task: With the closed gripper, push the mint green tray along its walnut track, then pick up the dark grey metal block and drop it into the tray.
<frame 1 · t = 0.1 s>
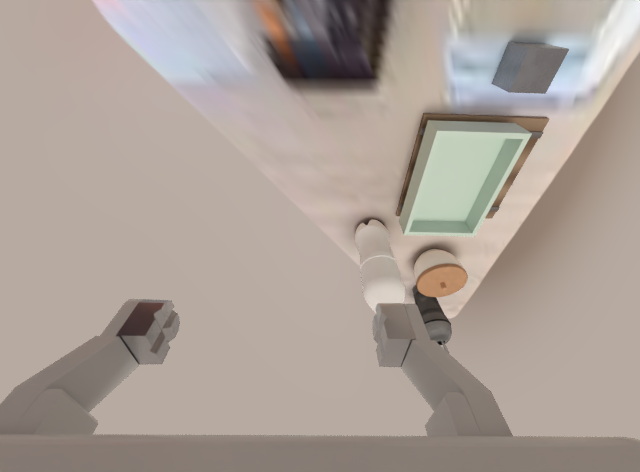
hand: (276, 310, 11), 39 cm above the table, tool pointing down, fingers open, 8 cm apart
mint green tray: (452, 183, 46), point 4 cm above the table, slide at 0.0 cm
lidded jar: (430, 257, 65), on the table
water bottle: (370, 228, 59), on the table
track: (461, 171, 50), on the table
beverage cup: (421, 287, 73), on the table
metal block: (516, 64, 38), on the table
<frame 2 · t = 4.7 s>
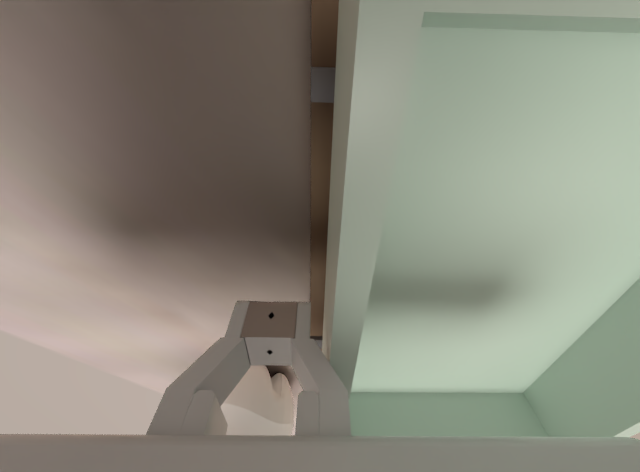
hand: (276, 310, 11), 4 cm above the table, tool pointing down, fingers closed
mint green tray: (492, 309, 11), point 4 cm above the table, slide at 0.7 cm, touching gripper
water bottle: (254, 375, 23), on the table
track: (497, 247, 14), on the table
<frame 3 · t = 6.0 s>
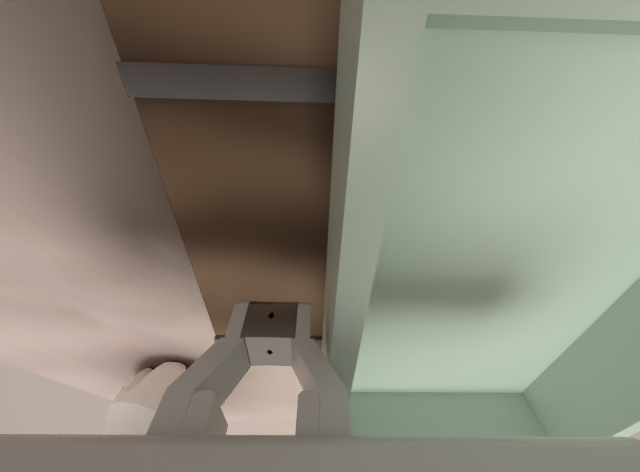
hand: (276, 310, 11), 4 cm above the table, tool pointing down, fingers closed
mint green tray: (492, 310, 11), point 4 cm above the table, slide at 6.9 cm, touching gripper
water bottle: (180, 374, 22), on the table
track: (383, 245, 14), on the table
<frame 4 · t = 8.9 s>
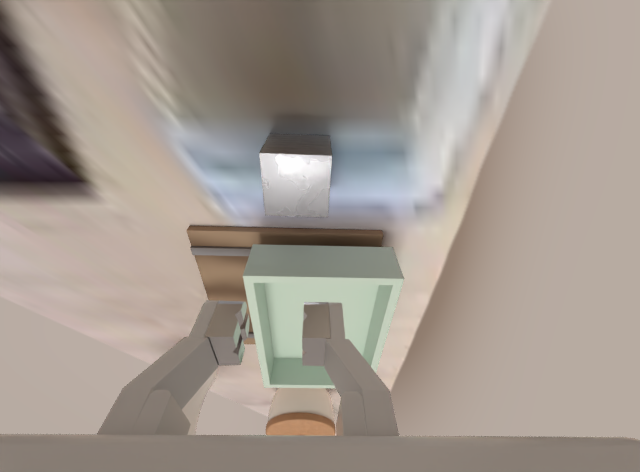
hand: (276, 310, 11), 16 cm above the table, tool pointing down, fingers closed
mint green tray: (320, 321, 30), point 4 cm above the table, slide at 7.0 cm
lidded jar: (303, 381, 47), on the table
water bottle: (199, 353, 42), on the table
track: (289, 293, 34), on the table
metal block: (300, 163, 24), on the table
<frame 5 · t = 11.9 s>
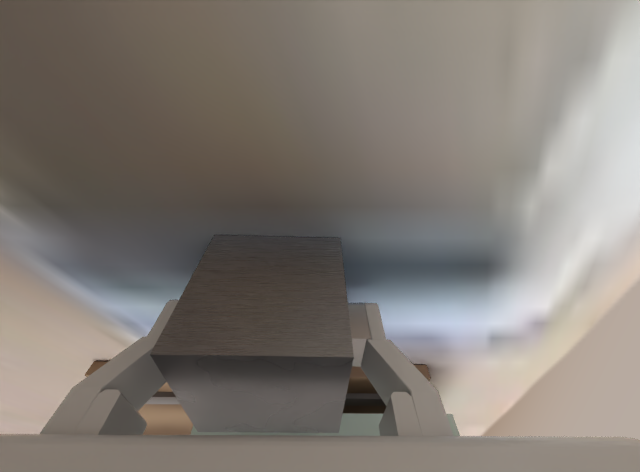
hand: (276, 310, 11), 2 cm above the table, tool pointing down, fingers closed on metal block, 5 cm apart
track: (274, 427, 22), on the table
metal block: (280, 281, 12), on the table, touching gripper
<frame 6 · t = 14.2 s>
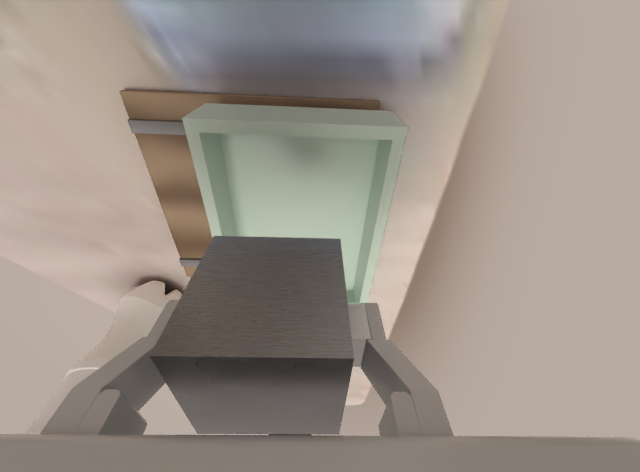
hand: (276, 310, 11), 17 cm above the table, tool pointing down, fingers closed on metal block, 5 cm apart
mint green tray: (299, 228, 24), point 4 cm above the table, slide at 7.0 cm
water bottle: (162, 292, 36), on the table
track: (264, 203, 27), on the table
metal block: (280, 281, 12), point 15 cm above the table, touching gripper
when the fingers open (7 cm above the table, at t = 16.8 s): metal block drops 2 cm, resting on mint green tray.
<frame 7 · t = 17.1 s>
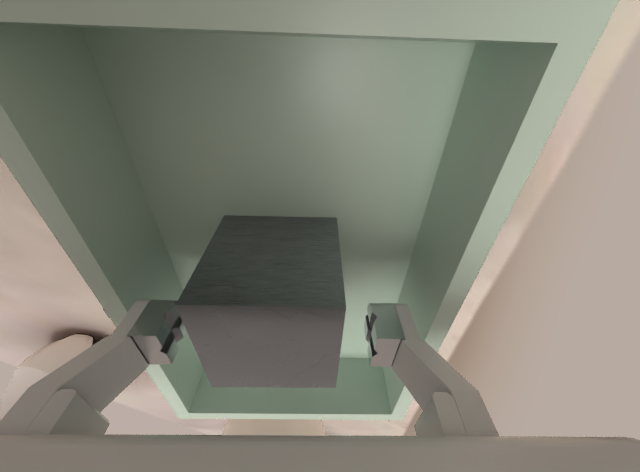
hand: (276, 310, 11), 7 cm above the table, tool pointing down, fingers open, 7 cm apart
mint green tray: (289, 270, 13), point 4 cm above the table, slide at 7.0 cm, touching metal block
lidded jar: (279, 394, 30), on the table
water bottle: (94, 348, 24), on the table
metal block: (283, 259, 13), point 3 cm above the table, touching mint green tray
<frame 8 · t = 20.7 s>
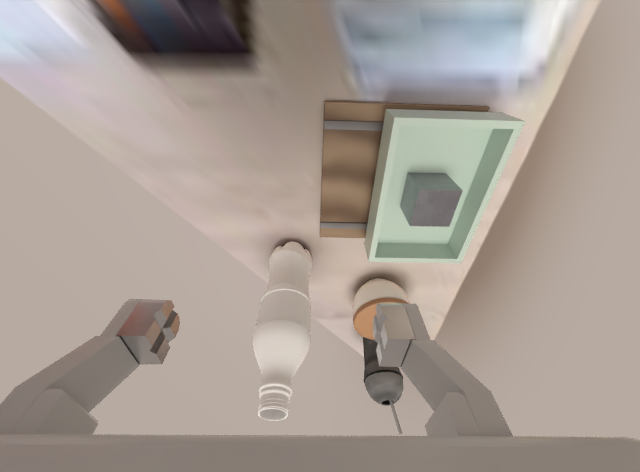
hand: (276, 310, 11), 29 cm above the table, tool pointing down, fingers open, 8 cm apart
mint green tray: (426, 193, 35), point 4 cm above the table, slide at 7.0 cm, touching metal block
lidded jar: (376, 288, 52), on the table
water bottle: (292, 252, 47), on the table
track: (390, 179, 39), on the table
beverage cup: (372, 326, 60), on the table
metal block: (421, 190, 36), point 3 cm above the table, touching mint green tray
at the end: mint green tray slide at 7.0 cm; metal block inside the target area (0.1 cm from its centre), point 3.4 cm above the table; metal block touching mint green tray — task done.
